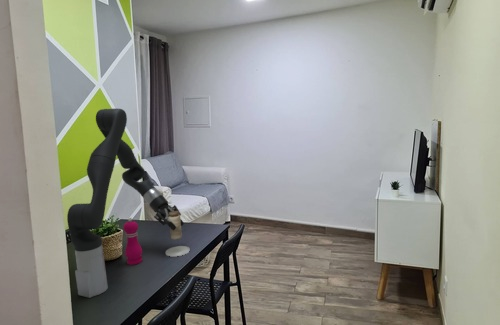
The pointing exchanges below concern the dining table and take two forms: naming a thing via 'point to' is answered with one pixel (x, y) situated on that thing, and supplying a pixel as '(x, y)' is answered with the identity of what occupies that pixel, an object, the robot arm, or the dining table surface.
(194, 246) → the dining table surface
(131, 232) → the pepper mill
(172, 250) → the tile
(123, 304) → the dining table surface
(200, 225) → the dining table surface
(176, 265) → the dining table surface
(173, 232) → the salt shaker
